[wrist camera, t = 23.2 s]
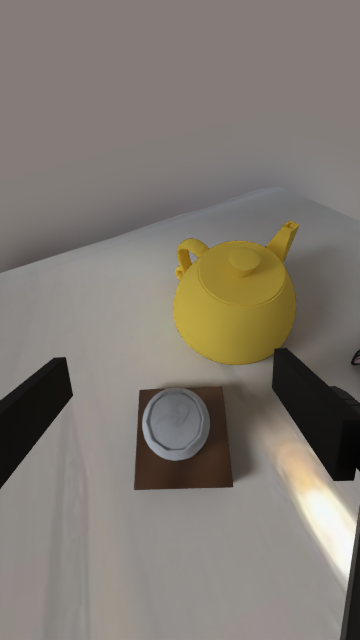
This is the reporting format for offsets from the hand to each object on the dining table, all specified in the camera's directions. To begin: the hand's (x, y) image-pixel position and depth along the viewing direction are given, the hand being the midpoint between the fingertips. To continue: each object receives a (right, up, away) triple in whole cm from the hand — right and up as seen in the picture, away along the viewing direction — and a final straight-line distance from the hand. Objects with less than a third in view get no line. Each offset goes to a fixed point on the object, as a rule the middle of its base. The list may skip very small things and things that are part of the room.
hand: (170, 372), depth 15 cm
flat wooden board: (+1, -10, +14) cm, 17 cm away
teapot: (+8, +5, +22) cm, 25 cm away
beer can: (+1, -9, +12) cm, 15 cm away
